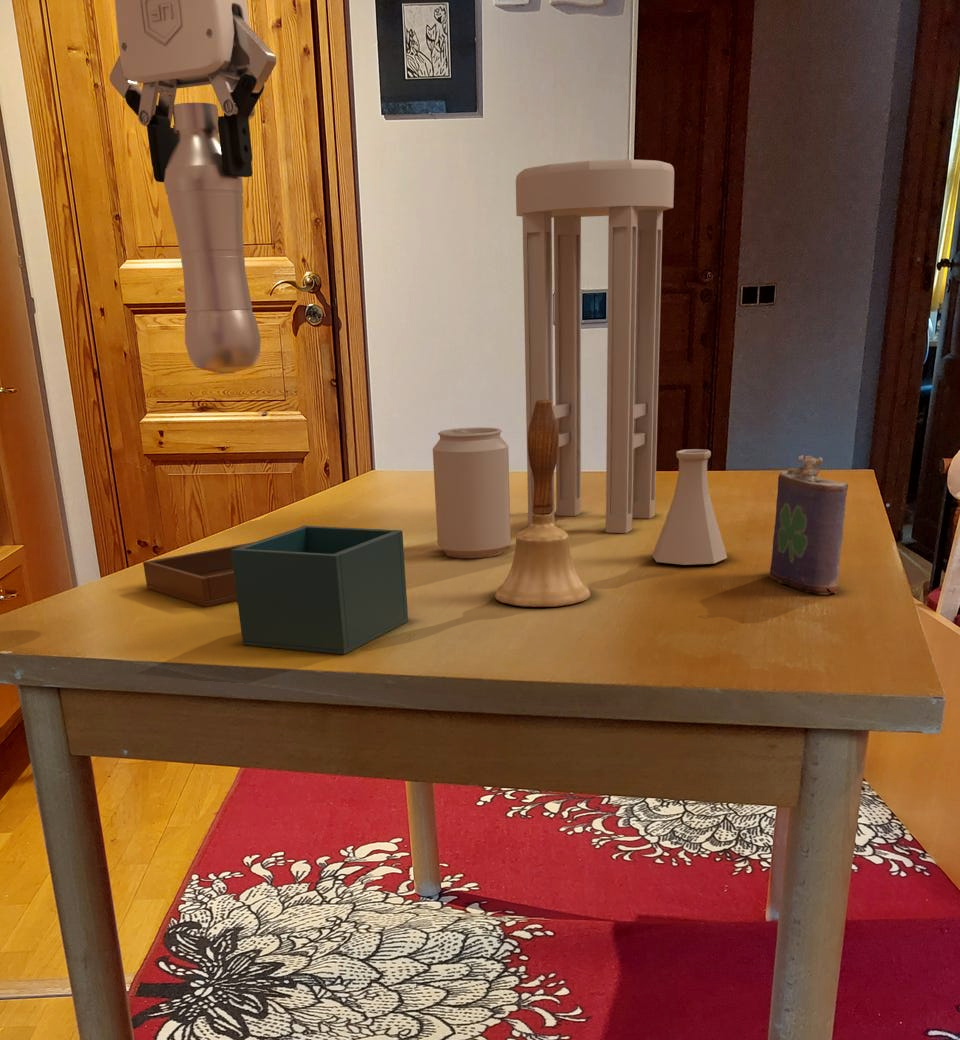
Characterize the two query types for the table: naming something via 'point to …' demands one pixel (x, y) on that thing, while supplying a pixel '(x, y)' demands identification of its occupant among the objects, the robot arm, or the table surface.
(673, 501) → the flask
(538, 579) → the hand bell
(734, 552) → the table surface
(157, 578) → the tray
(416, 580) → the table surface
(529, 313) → the stool
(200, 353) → the metal bottle
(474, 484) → the can
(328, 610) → the bin
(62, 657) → the table surface
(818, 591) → the flask
